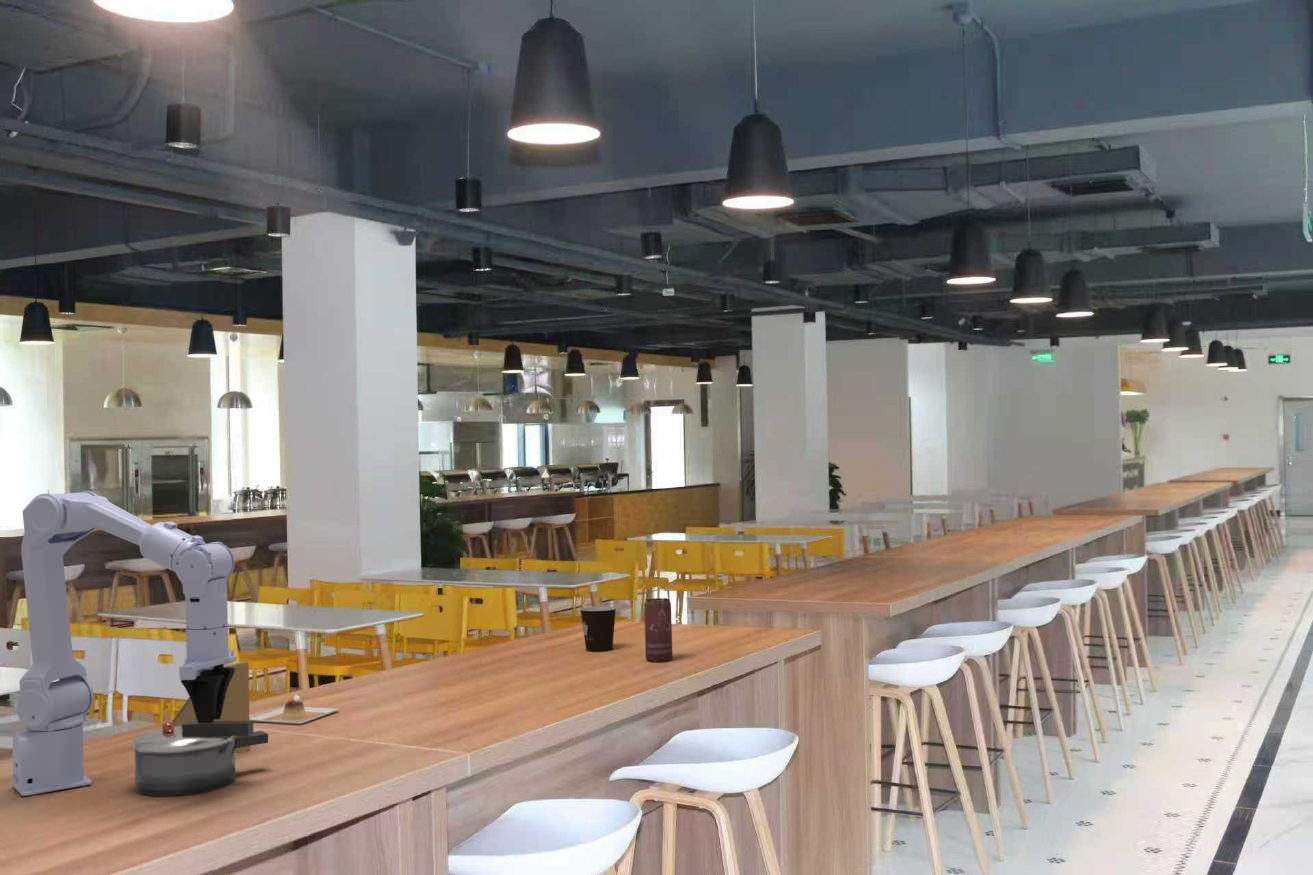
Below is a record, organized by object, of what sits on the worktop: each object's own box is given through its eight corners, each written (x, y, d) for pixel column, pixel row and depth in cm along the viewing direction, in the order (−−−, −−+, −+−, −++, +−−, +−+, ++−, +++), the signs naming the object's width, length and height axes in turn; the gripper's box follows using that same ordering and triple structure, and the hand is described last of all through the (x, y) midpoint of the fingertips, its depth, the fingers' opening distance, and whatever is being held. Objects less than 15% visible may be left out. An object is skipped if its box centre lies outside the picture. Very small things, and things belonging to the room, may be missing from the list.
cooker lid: (114, 754, 174) (114, 735, 174) (159, 731, 188) (159, 713, 189) (232, 752, 173) (231, 732, 173) (268, 729, 188) (268, 711, 188)
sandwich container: (188, 742, 209) (186, 655, 209) (251, 750, 201) (249, 660, 202) (146, 753, 201) (144, 663, 201) (210, 763, 194) (207, 669, 194)
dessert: (247, 725, 223) (246, 699, 223) (287, 711, 234) (287, 686, 234) (301, 728, 219) (300, 702, 219) (340, 714, 230) (339, 689, 230)
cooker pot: (150, 802, 171) (149, 759, 171) (124, 782, 182) (123, 742, 182) (282, 777, 183) (281, 737, 183) (250, 760, 194) (249, 722, 194)
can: (678, 658, 278) (676, 598, 278) (663, 663, 273) (661, 601, 273) (655, 657, 281) (654, 596, 282) (640, 661, 276) (639, 600, 276)
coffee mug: (616, 652, 290) (614, 610, 290) (580, 653, 290) (579, 611, 291) (618, 644, 302) (617, 604, 302) (583, 645, 302) (582, 605, 302)
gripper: (213, 633, 168) (216, 731, 168) (252, 619, 183) (255, 709, 182) (163, 634, 168) (166, 732, 168) (207, 620, 183) (209, 710, 183)
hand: (209, 720), depth 175 cm, fingers closed
